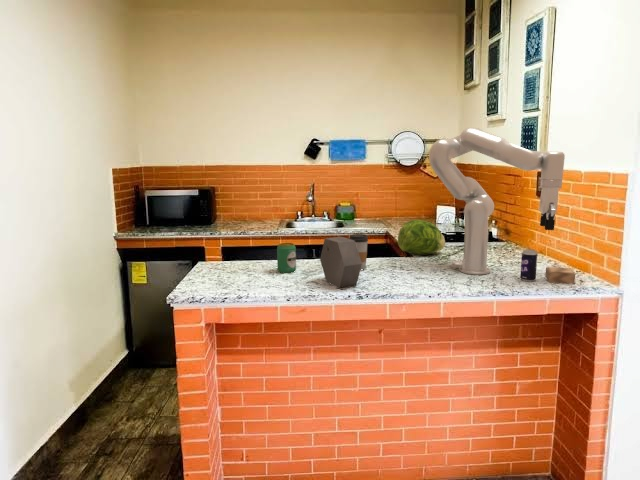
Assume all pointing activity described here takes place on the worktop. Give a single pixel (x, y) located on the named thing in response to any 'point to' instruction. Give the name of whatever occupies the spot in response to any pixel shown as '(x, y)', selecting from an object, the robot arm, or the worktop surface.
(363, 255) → the coffee cup
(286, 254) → the beverage can
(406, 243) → the lettuce
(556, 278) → the plinth
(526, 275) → the beverage can
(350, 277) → the dark hexagonal prism
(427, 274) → the worktop surface
